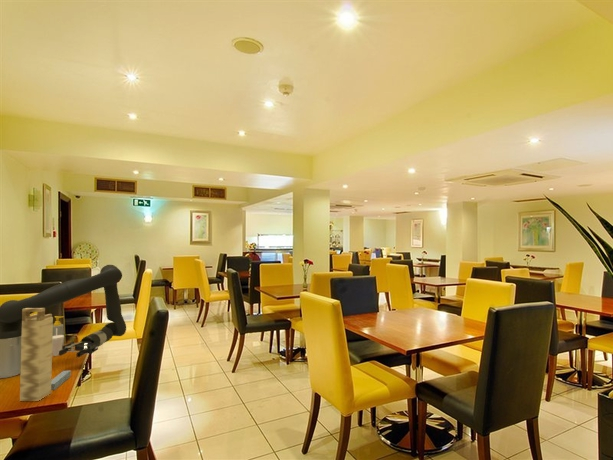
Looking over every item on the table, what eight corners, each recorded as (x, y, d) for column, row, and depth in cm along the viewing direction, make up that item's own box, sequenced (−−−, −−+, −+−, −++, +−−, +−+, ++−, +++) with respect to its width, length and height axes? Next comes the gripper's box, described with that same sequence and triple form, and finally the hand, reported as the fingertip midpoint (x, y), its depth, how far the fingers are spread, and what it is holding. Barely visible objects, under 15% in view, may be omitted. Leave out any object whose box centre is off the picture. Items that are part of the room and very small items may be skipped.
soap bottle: (58, 350, 187) (59, 317, 188) (45, 350, 187) (46, 317, 187) (67, 346, 194) (68, 315, 194) (55, 346, 194) (55, 315, 194)
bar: (45, 392, 137) (45, 384, 137) (63, 377, 151) (63, 370, 151) (54, 391, 138) (54, 383, 138) (70, 377, 152) (70, 370, 152)
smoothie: (61, 352, 184) (62, 326, 184) (65, 354, 180) (66, 328, 180) (47, 355, 179) (48, 328, 180) (50, 357, 175) (51, 330, 175)
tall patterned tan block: (19, 401, 128) (22, 309, 129) (32, 393, 134) (35, 305, 135) (38, 401, 128) (41, 309, 129) (51, 393, 135) (53, 305, 136)
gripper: (80, 332, 169) (53, 344, 153) (107, 334, 168) (83, 347, 152) (80, 346, 169) (53, 361, 153) (107, 349, 168) (83, 363, 152)
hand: (68, 354), depth 152 cm, fingers open, 8 cm apart
